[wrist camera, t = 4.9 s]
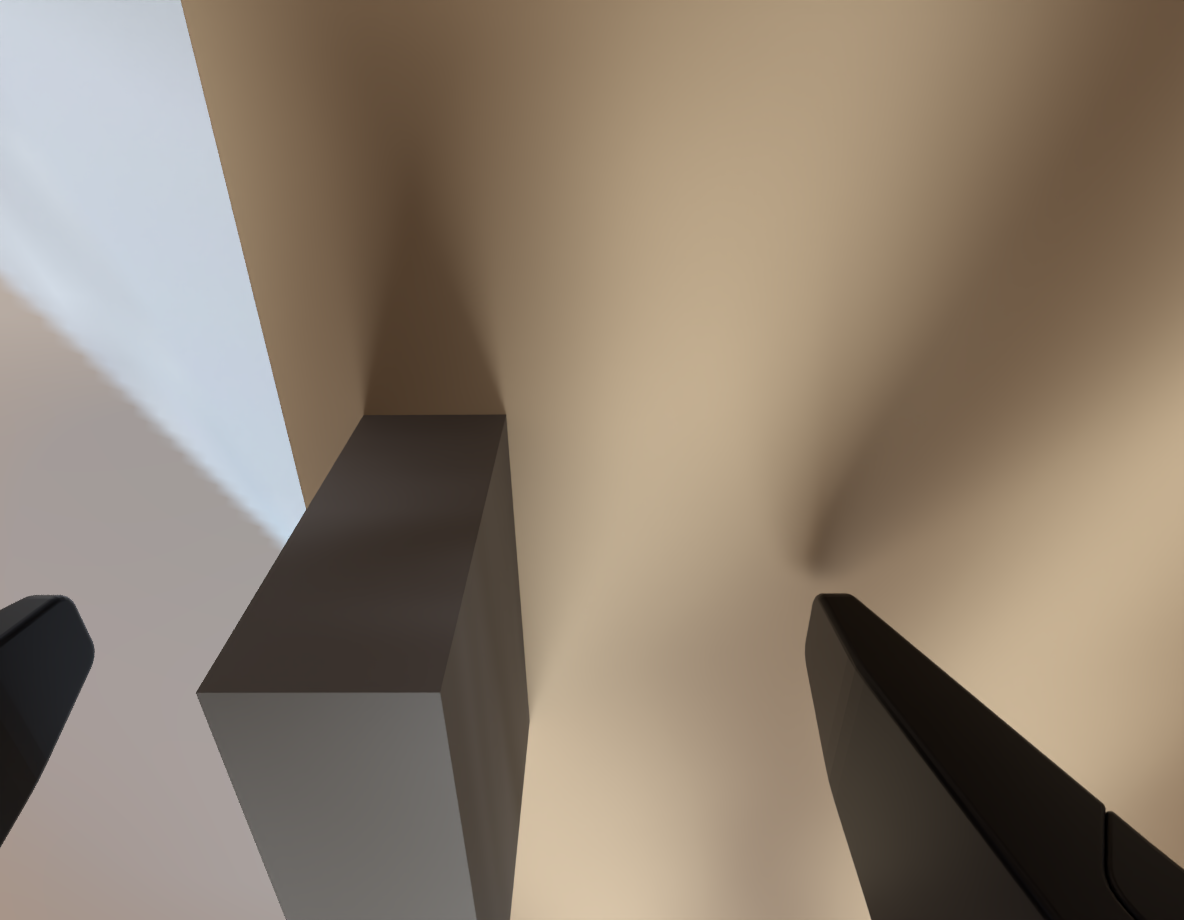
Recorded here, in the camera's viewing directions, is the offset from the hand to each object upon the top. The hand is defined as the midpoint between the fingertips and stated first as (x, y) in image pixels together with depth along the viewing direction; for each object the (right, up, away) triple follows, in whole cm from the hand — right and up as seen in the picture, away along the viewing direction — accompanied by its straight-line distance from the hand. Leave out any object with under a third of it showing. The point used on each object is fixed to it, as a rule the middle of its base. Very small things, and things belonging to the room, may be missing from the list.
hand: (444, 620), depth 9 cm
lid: (+6, +1, +1) cm, 6 cm away
